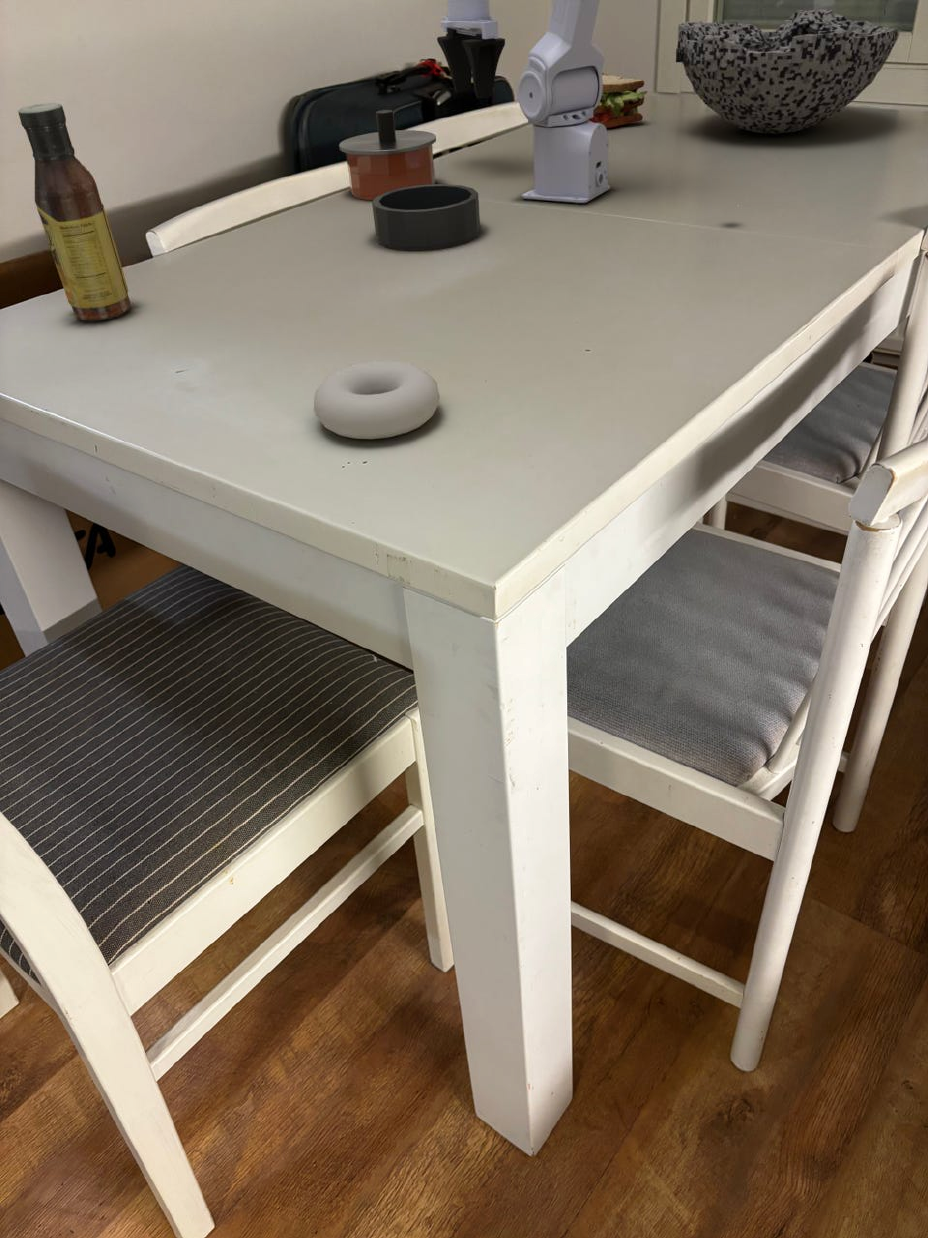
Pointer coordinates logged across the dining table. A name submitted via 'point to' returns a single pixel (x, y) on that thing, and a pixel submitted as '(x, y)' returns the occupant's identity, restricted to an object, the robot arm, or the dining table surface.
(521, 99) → the robot arm
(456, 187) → the dark grey cake pan
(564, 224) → the dining table surface
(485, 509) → the dining table surface
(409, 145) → the lid
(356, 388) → the donut
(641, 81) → the sandwich
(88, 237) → the sauce bottle
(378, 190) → the pot
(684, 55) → the bowl
